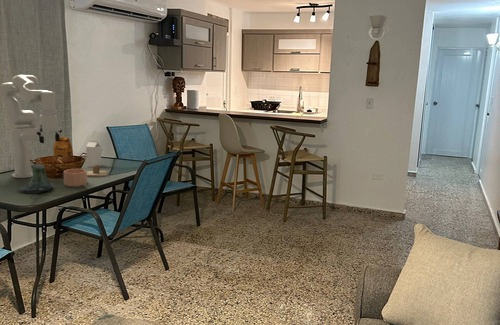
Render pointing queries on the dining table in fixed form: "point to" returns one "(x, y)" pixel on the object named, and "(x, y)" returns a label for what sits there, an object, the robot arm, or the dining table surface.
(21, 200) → the dining table surface
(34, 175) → the tree stump
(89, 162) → the milk carton
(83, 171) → the bowl
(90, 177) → the mat
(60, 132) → the robot arm
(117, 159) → the dining table surface
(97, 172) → the lid
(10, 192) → the dining table surface
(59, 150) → the coffee package
